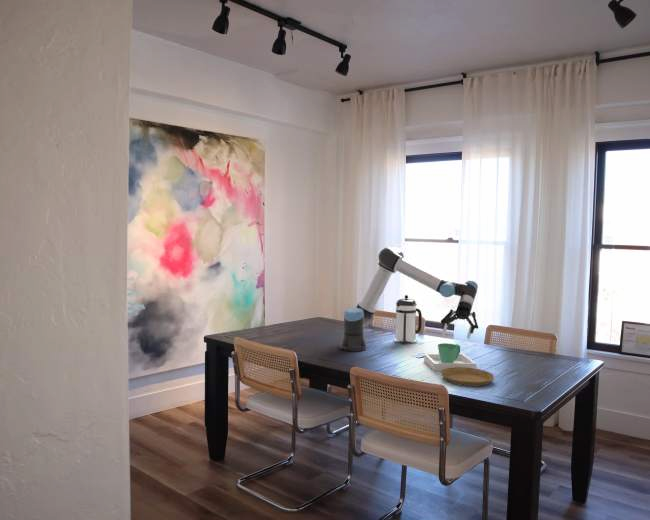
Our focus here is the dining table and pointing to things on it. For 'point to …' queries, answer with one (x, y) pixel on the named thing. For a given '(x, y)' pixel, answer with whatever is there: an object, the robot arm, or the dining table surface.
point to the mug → (448, 352)
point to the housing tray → (437, 365)
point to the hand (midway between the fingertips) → (455, 336)
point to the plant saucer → (467, 376)
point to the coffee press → (407, 320)
